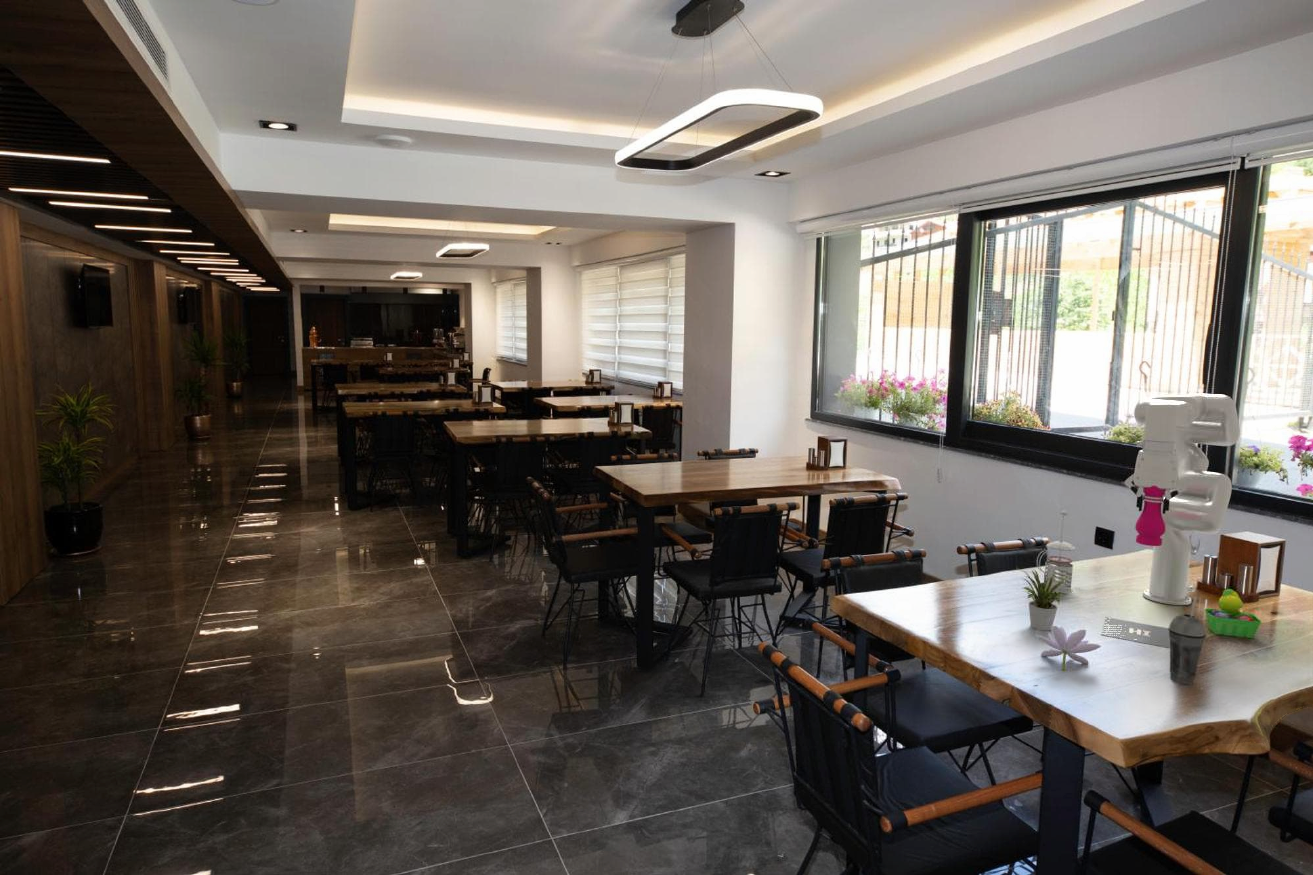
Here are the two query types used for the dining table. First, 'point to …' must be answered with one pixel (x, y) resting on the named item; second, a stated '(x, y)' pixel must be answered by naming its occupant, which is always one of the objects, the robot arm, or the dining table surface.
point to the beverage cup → (1185, 646)
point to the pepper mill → (1151, 518)
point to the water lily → (1067, 645)
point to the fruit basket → (1232, 617)
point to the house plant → (1043, 602)
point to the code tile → (1139, 632)
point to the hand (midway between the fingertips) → (1152, 511)
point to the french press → (1059, 565)
